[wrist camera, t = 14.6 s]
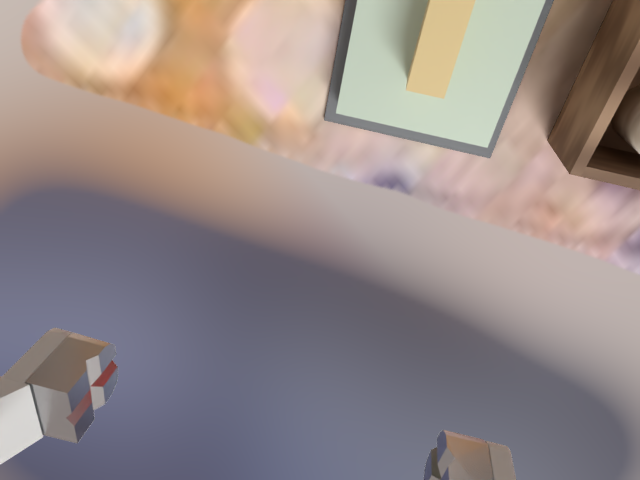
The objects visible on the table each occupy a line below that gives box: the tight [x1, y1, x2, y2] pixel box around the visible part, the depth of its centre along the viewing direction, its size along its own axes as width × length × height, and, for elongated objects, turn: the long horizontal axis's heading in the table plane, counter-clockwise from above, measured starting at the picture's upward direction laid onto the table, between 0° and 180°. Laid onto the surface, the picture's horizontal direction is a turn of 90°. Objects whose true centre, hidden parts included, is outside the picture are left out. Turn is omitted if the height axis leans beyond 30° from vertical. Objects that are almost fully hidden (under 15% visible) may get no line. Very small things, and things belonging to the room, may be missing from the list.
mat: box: [324, 0, 554, 158], centre depth 35 cm, size 20×15×1 cm
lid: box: [336, 0, 546, 148], centre depth 33 cm, size 17×13×6 cm
